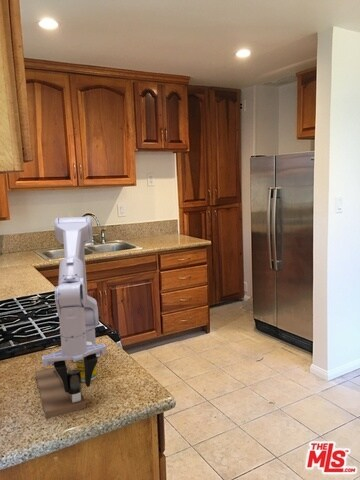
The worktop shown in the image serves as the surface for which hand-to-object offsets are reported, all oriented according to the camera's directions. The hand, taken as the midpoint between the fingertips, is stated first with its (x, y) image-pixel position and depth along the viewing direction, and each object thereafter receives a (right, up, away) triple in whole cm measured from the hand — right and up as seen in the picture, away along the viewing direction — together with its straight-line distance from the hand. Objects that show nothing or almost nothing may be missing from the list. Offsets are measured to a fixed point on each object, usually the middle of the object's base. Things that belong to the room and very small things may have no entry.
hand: (77, 387), depth 93 cm
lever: (-5, -2, +8) cm, 9 cm away
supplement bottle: (-1, -3, +14) cm, 14 cm away
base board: (-7, -4, +7) cm, 11 cm away
